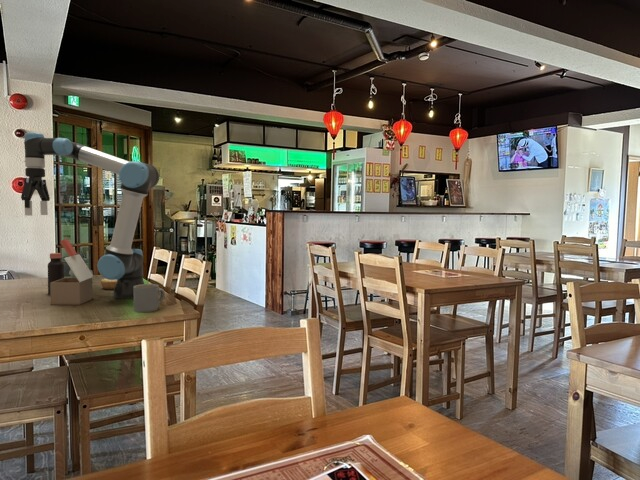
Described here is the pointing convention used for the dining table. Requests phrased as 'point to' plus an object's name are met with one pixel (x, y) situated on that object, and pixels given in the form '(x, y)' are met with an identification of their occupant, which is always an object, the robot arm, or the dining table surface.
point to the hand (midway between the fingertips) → (36, 215)
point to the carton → (70, 291)
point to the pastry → (108, 284)
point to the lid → (76, 262)
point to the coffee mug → (147, 297)
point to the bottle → (55, 269)
